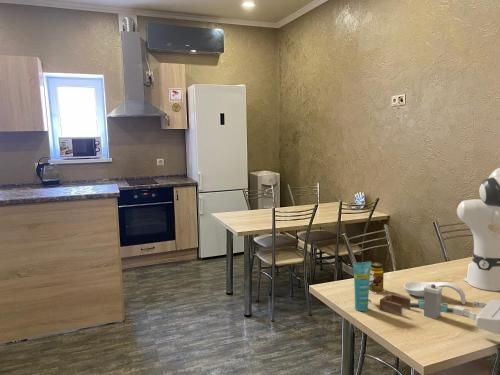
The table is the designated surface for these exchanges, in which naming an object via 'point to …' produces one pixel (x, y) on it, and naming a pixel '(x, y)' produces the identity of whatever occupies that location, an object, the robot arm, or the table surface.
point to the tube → (361, 284)
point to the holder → (394, 303)
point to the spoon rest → (418, 287)
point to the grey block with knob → (432, 301)
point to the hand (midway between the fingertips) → (468, 307)
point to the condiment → (377, 278)
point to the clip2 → (421, 304)
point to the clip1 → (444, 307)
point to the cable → (455, 310)
